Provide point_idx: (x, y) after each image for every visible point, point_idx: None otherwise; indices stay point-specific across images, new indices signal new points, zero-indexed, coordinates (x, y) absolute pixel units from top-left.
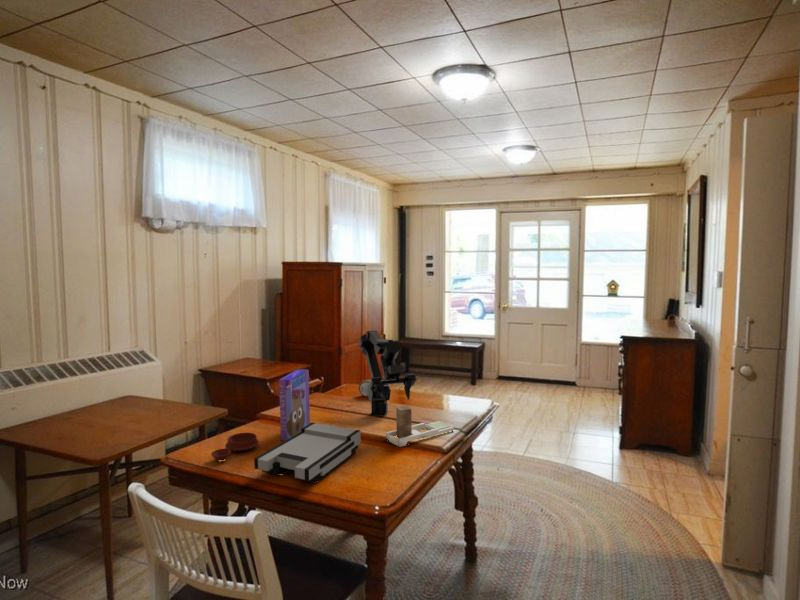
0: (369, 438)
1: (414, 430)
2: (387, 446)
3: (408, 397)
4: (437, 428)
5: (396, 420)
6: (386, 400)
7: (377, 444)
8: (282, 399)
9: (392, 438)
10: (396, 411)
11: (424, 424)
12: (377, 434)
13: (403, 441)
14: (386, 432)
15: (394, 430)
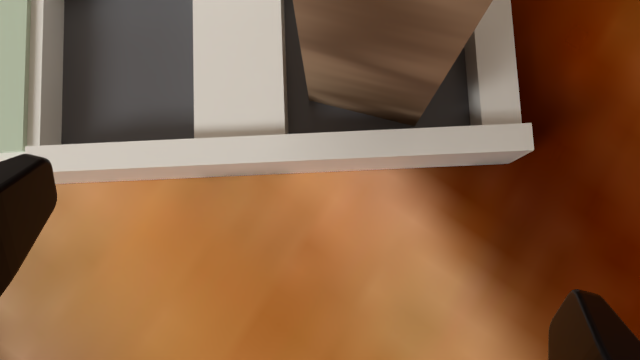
0: (623, 292)
1: (214, 101)
2: (566, 37)
3: (31, 162)
4: (5, 4)
5: (450, 68)
6: (599, 296)
7: (623, 122)
8: None
9: (513, 45)
10: (483, 12)
11: (44, 147)
12: (506, 340)
13: None
14: (527, 149)
15: (425, 150)
